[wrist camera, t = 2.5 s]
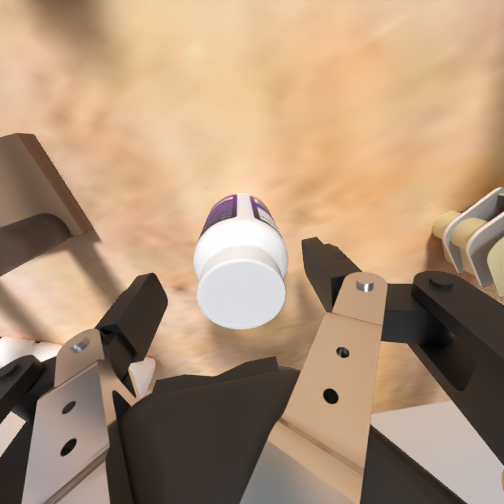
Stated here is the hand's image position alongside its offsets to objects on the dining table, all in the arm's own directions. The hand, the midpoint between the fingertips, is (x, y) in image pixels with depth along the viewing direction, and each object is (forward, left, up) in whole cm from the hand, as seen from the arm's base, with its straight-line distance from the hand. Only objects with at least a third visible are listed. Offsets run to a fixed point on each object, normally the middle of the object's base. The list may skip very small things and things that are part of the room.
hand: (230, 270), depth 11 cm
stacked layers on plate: (-21, +5, -8) cm, 23 cm away
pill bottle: (-1, 0, -8) cm, 8 cm away
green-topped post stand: (+18, -8, -7) cm, 21 cm away
